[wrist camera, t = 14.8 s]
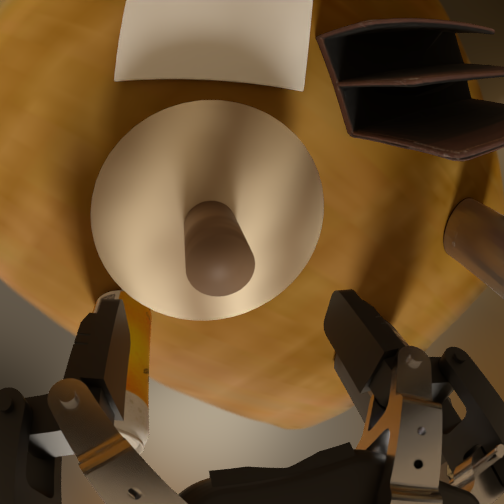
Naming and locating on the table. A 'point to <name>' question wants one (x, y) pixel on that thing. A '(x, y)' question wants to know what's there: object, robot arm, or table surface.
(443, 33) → the letter holder
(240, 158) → the lid
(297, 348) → the table surface
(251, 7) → the mat
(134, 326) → the beer can
